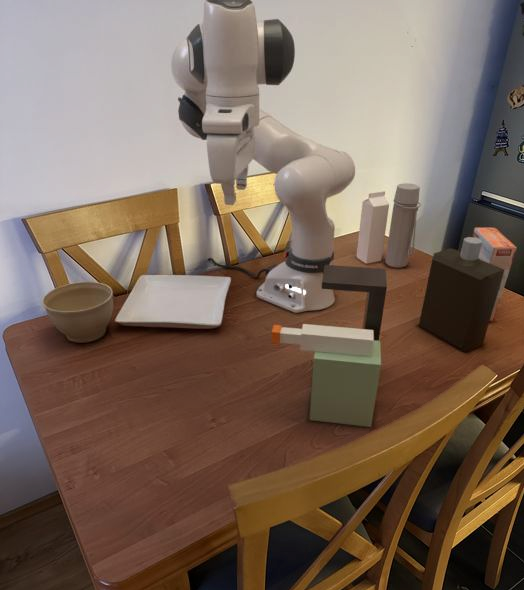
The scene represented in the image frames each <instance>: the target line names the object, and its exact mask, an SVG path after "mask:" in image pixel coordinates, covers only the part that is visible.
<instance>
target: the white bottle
mask: <svg viewBox="0 0 524 590" xmlns="http://www.w3.org/2000/svg"><path fill="white" fill-rule="evenodd" d="M373 342H374V331H373V330H367V329H362V328H355V327H354V328H353V327H342V326H332V325H321V324H310V323H309V324H308V323H303V324H302V327H301V328H295V327H284V326H282V325H278V324H273V326H272V329H271V344H274V345H280V344H289V345H299V346H300V347H299V350H300V351H307V352H315V351H316V352H326V353H337V354H347V355H357V356H368V357H371V355H372V348H373Z"/></svg>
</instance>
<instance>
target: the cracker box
mask: <svg viewBox="0 0 524 590" xmlns="http://www.w3.org/2000/svg"><path fill="white" fill-rule="evenodd" d="M471 237H474V238H478V239H481V240H482V246H481V250H480V253H479V257H478V258H479V259H480V260H482V261H485V262H487V263H490V264H492V265H495V266H497V267H500V268H502V269H504V274H503V278H502V281H501V284H500V288H499V291H498V294H497V298H496V301H495V305H494V308H493V311H492V315H491V318H490V321H489V322H494V321H495V318H496V315H497V312H498V308H499V305H500V302H501V299H502V295H503V293H504V289H505V286H506V283H507V279H508V276H509V273H510V270H511V267H512V265H513V261H514V258H515V254H516V251H517V246H515V244H514V243H512V242H511V240H509V239H508V238H507V237H506V236H505V235H503V233H501V231H499V230H498V228H496V227H480V226H479V227H474V228H473V231H472V236H471Z"/></svg>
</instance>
